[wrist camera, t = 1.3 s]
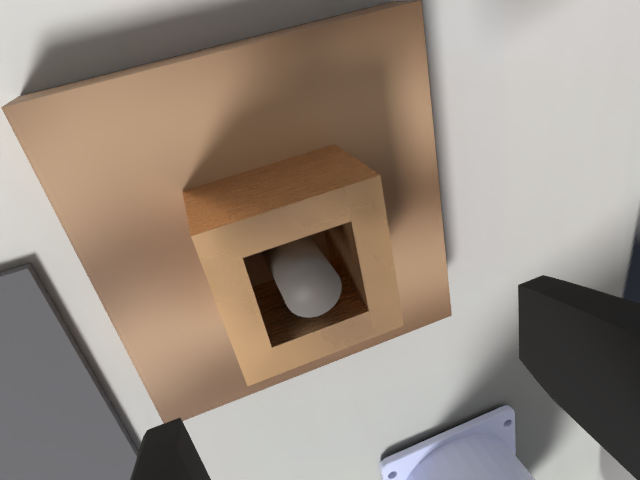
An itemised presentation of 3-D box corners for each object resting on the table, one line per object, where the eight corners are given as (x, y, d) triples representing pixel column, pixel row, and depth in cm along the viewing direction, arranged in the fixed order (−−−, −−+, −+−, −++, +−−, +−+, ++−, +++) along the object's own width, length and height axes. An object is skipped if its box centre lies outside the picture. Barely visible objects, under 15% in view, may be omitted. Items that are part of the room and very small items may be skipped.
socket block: (427, 291, 22) (510, 373, 17) (164, 391, 20) (169, 519, 15) (392, 1, 16) (500, -4, 11) (18, 96, 14) (-51, 140, 9)
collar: (360, 273, 18) (403, 325, 15) (229, 320, 17) (247, 386, 14) (335, 144, 16) (380, 175, 13) (182, 190, 15) (191, 236, 12)
